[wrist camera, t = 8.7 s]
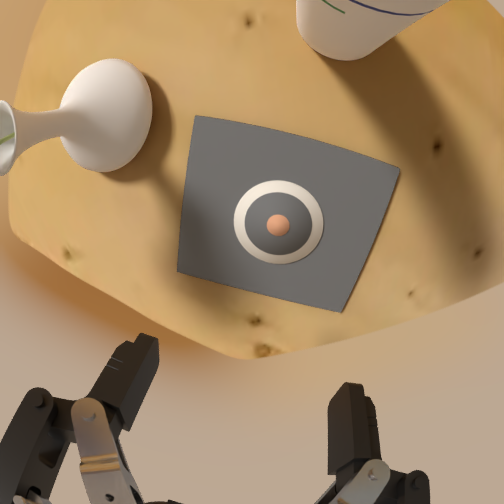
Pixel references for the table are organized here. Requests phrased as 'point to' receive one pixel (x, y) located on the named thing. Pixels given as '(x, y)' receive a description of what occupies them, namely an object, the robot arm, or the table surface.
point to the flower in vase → (86, 119)
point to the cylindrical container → (356, 23)
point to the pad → (279, 212)
